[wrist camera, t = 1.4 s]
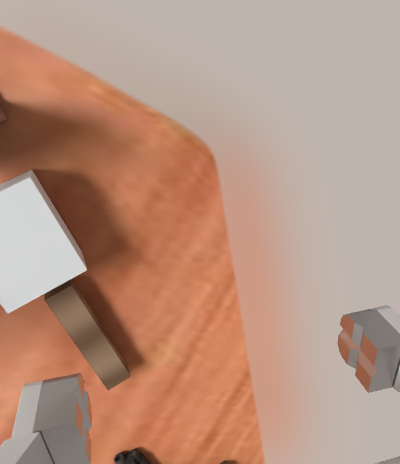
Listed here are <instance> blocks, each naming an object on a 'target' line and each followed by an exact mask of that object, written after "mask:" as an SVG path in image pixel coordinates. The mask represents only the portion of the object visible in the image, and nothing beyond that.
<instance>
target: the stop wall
mask: <svg viewBox="0 0 400 464" xmlns="http://www.w3.org/2000/svg"><path fill="white" fill-rule="evenodd" d="M6 120H8V119H7V117H6V115H5V114H4V112H3V111H2V109H1V107H0V123H1V122H4V121H6Z"/></svg>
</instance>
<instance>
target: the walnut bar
mask: <svg viewBox="0 0 400 464" xmlns="http://www.w3.org/2000/svg"><path fill="white" fill-rule="evenodd" d="M45 301H46V303H47V304H48V306H49V307H50V309H51V310H52V311H53V313H54V314H55V316H56V317H57V319H58V320H59V321H60V323H61V324H62V326H63V327H64V328H65V330H66V331H67V333H68V334H69V336H70V337H71V338H72V340H73V341H74V343H75V344H76V346H77V347H78V348H79V350H80V351H81V353H82V354H83V355H84V357H85V358H86V360H87V361H88V363H89V364H90V365H91V367H92V368H93V370H94V371H95V373H96V374H97V375H98V377H99V378H100V380H101V381H102V383H103V384H104V385H105V387H106V388H107V390H110V389H111V388H113V387H115V386H116V385H118V384H119V383H121V382H122V381H124V380H126V379H127V378H129V377H130V373H129V370H128V367H127V364H126V362H125V361H124V359H123V358H122V356H121V355H120V353H119V352H118V350H117V348H116V347H115V345H114V344H113V342H112V341H111V339H110V338H109V336H108V335H107V333H106V331H105V330H104V328H103V327H102V325H101V324H100V322H99V321H98V319H97V318H96V316H95V314H94V313H93V311H92V310H91V308H90V307H89V305H88V304H87V302H86V301H85V299H84V297H83V296H82V294H81V293H80V291H79V290H78V288H77V287H76V285H75V284H74V282H73V280H72V279H70V280H68V281H67V282H65V283H63V284H61V285H59V286H58V287H56V288H54V289H52V290H50V291H48V292H47V293H45Z"/></svg>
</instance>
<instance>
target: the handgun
mask: <svg viewBox="0 0 400 464" xmlns="http://www.w3.org/2000/svg"><path fill="white" fill-rule="evenodd" d="M114 462H115V463H116V464H150V462H149V461H148V460H147V459H146V458H145V456H144V455H143V454H142V453H139V452H138V451H137V450H136V449H133V450H132V451H129V452H128V453H127V454H125V455H124V456H123V455H122V454H121V453H119V454H117V455H116V456H115V458H114ZM221 464H226V463H225V461H223V462H222V463H221Z"/></svg>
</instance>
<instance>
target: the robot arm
mask: <svg viewBox="0 0 400 464" xmlns="http://www.w3.org/2000/svg"><path fill="white" fill-rule="evenodd" d="M340 325H341V326H342V328H343V330H342V331H341V333H340V334H339V336H338V346H339V351H340V353H341V355H342V357H343V359H344V360H345V362H346V363H347V364H348V365H350V366H351V367H353V368H355V369H356V374H355V375H356V377H357V378H358V380H359V381H360V382H361V384H362V385H363V386H364V388H365V389H366V390H367V392H368V393H369V392H373V391H378V390H382V389H386V388H391V387H394V389H395V390H397V391H398V392H400V315H399V314H398V313H397V312H396V311H395V310H394V309H392V308H391V307H390V306H387V305H385V306H381V307H377V308H372V309H368V310H363V311H359V312H355V313H350V314H346V315H343V317H342V318H341V322H340ZM91 426H92V414H91V404H90V399H89V395H88V392H86V391H85V390H84V379H83V376H82V374H81V373H78V374H73V375H67V376H62V377H57V378H52V379H47V380H43V381H38V382H33V383H28V384H25V385H24V387H23V389H22V392H21V397H20V401H19V406H18V410H17V414H16V419H15V423H14V428H13V432H12V437H11V439H7V440H5V441H4V442H3V443H2V444H1V446H0V464H91V439H90V436H89V433H88V431H89V429H90V428H91ZM376 464H400V456H399V457H396V458H393V459H389V460H386V461H382V462H379V463H376Z"/></svg>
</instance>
